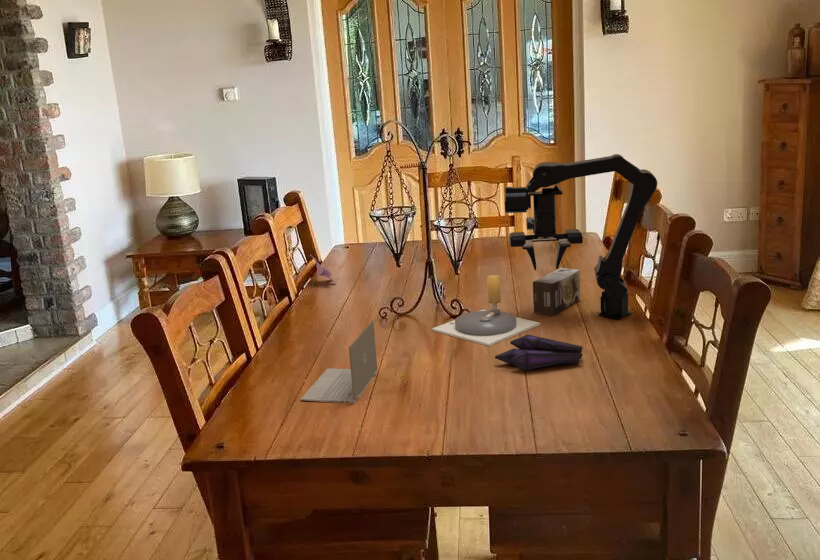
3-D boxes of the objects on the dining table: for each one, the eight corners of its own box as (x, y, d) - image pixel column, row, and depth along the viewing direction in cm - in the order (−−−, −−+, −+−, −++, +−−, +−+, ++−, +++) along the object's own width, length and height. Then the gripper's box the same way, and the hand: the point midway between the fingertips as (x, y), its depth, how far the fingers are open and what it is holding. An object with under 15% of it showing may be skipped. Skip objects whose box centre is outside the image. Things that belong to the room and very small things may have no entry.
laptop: (327, 371, 195) (322, 318, 192) (378, 372, 192) (374, 319, 189) (300, 402, 178) (294, 345, 175) (355, 404, 175) (350, 346, 172)
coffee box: (581, 300, 234) (553, 316, 222) (560, 297, 238) (532, 313, 226) (580, 269, 232) (553, 284, 220) (559, 266, 236) (531, 281, 224)
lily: (331, 293, 263) (341, 265, 263) (296, 280, 263) (307, 252, 263) (334, 294, 275) (344, 267, 275) (301, 282, 275) (311, 255, 275)
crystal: (582, 330, 192) (496, 325, 194) (586, 352, 181) (495, 347, 183) (580, 357, 195) (494, 352, 197) (584, 381, 184) (494, 375, 186)
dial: (501, 338, 206) (499, 293, 203) (444, 331, 214) (442, 288, 211) (525, 318, 219) (524, 276, 216) (471, 313, 227) (469, 272, 224)
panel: (539, 324, 216) (539, 321, 216) (489, 346, 203) (488, 342, 203) (482, 311, 230) (482, 308, 230) (432, 330, 218) (431, 327, 217)
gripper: (576, 204, 222) (577, 260, 227) (506, 208, 224) (508, 263, 228) (582, 212, 212) (583, 270, 216) (509, 216, 213) (511, 274, 217)
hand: (546, 269), depth 219 cm, fingers open, 5 cm apart
